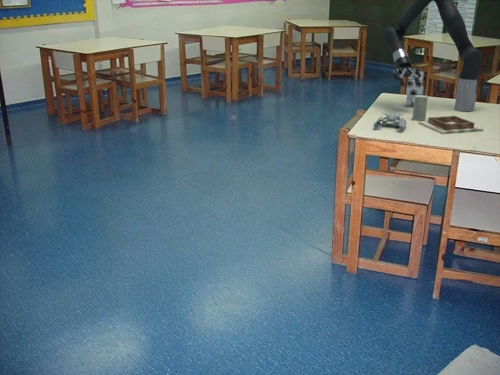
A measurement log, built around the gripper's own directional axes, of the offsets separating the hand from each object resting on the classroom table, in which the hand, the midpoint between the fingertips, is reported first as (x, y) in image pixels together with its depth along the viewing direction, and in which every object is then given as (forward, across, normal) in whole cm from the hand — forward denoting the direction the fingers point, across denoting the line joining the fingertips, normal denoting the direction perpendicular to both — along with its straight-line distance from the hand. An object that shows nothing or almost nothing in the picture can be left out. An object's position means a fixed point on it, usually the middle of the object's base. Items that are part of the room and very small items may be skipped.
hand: (410, 85), depth 273 cm
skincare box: (+19, 0, +4) cm, 19 cm away
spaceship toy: (+27, -22, -4) cm, 35 cm away
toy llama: (-3, +16, +26) cm, 30 cm away
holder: (+31, +6, -9) cm, 33 cm away
